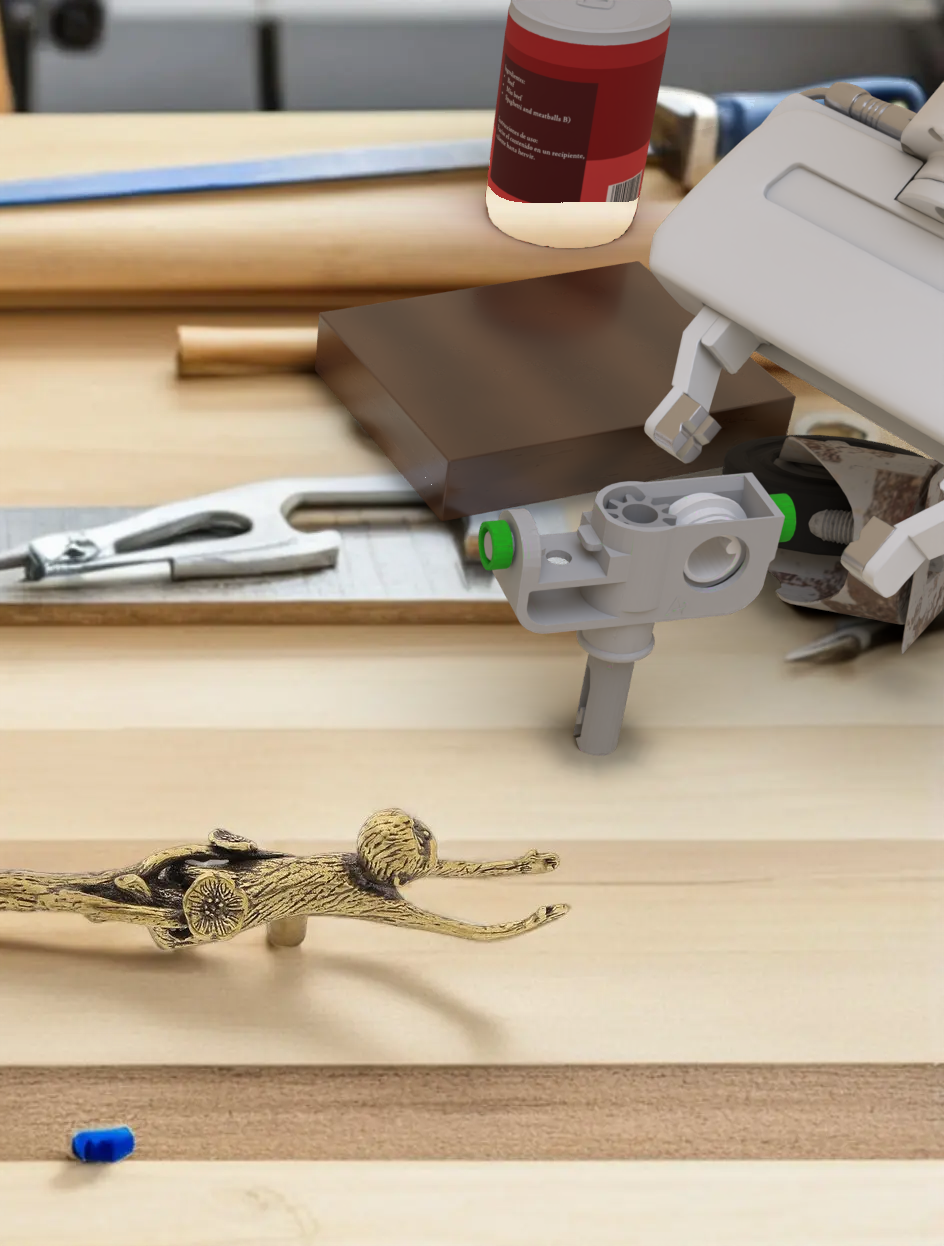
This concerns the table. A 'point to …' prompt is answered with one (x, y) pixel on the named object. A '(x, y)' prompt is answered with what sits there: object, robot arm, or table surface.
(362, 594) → the table surface
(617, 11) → the canned food
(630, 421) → the plinth
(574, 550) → the mechanical component
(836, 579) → the caster wheel
